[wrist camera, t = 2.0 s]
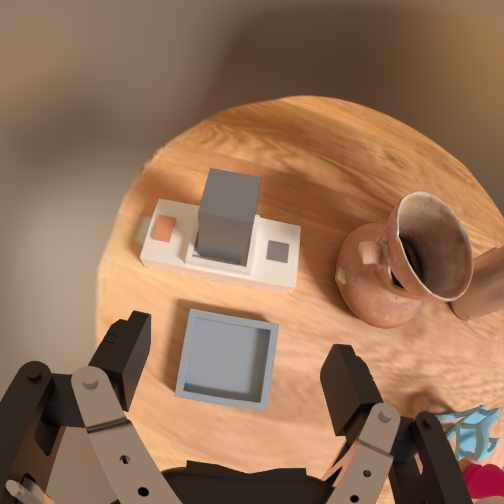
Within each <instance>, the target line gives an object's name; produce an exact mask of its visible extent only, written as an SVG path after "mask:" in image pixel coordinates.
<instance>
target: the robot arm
mask: <svg viewBox="0 0 504 504" xmlns="http://www.w3.org/2000/svg"><path fill="white" fill-rule="evenodd" d="M473 265H474V268H473V274H472V278H471V281H470V284H469V286H468V288H467V290H466V291H465V292H464V294H462V295H461V297H459V298H458V299H456V300H453V301H450V304H451V307H452V309H453V311H454V313H455V314H456V315H457V316H458V317H459V318H460V319H462V320H466V321H467V320H470V319H474V318H477V317H480V316H484V315H487V314H490V313H493V312H496V311H499V310H502V309H504V246H502V247H500V248H497V247H494V248H492V249H491V250H489V251H487V252H485V253H483V254H482V255H480V256H478V257H476V258H474V259H473ZM150 345H151V314H148V313H144V312H139V311H135V310H134V311H133V312H132V314H131V315H130V317H129V319H128V321H126V320H122V319H119V320H118V321H116V322H115V323H114V324H112V325H111V326H110V328H109V330H108V331H107V334H106V335H105V337H104V338H103V341H102V342H101V343H100V345H99V347H98V349H97V350H96V352H95V354H94V356H93V357H92V359H91V361H90V363H89V365H88V366H86V367H82V368H80V369H78V370H77V371H75V372H74V374H71V375H66V374H54V373H51V371H50V369H49V368H48V366H47V365H45V364H44V363H42V362H39V361H31V362H28V363H26V364H24V365H23V366H22V367H21V368H20V369H19V371H18V373H17V374H16V376H15V377H14V379H13V381H12V383H11V384H10V386H9V388H8V389H7V391H6V393H5V395H4V397H3V398H2V400H1V402H0V504H55V503H54V501H53V500H52V498H51V497H50V496H49V495H48V494H47V493H46V488H47V485H48V481H49V477H50V474H51V470H52V468H53V464H54V461H55V458H56V454H57V452H58V449H59V446H60V443H61V440H62V437H63V434H64V432H65V429H66V426H69V427H81V428H86V429H87V433H88V435H89V438H90V441H91V443H92V445H93V448H94V450H95V452H96V455H97V457H98V459H99V462H100V464H101V466H102V468H103V470H104V472H105V474H106V476H107V478H108V480H109V483H110V484H111V486H112V488H113V490H114V492H115V494H116V496H117V498H118V499H117V500H115V501H114V502H112V503H111V504H376V501H377V499H378V497H379V495H380V492H381V490H382V488H383V485H384V483H385V480H386V478H387V475H388V477H389V480H390V484H391V488H392V492H393V496H394V500H395V504H473V502H472V499H471V497H470V494H469V491H468V488H467V485H466V483H465V480H464V478H463V475H462V472H461V470H460V467H459V465H458V462H457V460H456V458H455V455H454V453H453V450H452V448H451V446H450V443H449V441H448V439H447V437H446V434H445V432H444V430H443V428H442V426H441V424H440V421H439V420H438V418H437V417H436V416H435V415H434V414H432V413H430V412H420V413H419V414H418V415H417V416H416V417H415V418H414V419H413V418H407V417H402V416H400V415H399V413H398V411H397V410H396V409H395V408H394V407H393V406H391V405H389V404H386V403H384V402H383V400H382V397H381V395H380V393H379V391H378V388H377V386H376V384H375V382H374V381H373V377H372V375H371V374H370V371H369V369H368V367H367V365H366V363H365V362H364V361H363V360H362V359H361V358H360V357H359V356H356V355H355V352H354V350H353V348H352V346H351V345H343V344H334V345H333V346H332V348H331V350H330V352H329V354H328V356H327V358H326V360H325V362H324V364H323V366H322V368H321V372H320V380H321V384H322V388H323V391H324V395H325V399H326V402H327V406H328V410H329V413H330V417H331V421H332V425H333V428H334V432H335V436H345V437H346V440H345V442H344V443H343V445H342V446H341V448H340V450H339V452H338V453H337V455H336V457H335V458H334V460H333V462H332V463H331V465H330V467H329V468H328V470H327V471H326V473H325V474H324V475H323V477H322V478H321V479H318V478H315V477H312V476H309V475H307V474H306V468H278V469H273V470H268V471H262V472H257V473H250V474H248V473H243V472H240V471H236V470H233V469H230V468H227V467H223V466H220V465H217V464H209V463H202V462H195V461H189V460H187V465H186V467H177V468H171V469H167V470H164V471H161V472H160V471H159V469H158V468H157V466H156V464H155V463H154V461H153V459H152V458H151V456H150V454H149V453H148V451H147V449H146V448H145V446H144V444H143V442H142V441H141V439H140V437H139V435H138V433H137V431H136V430H135V428H134V426H133V424H132V422H131V421H130V420H128V419H127V418H126V416H125V414H124V412H123V411H126V412H128V411H129V408H130V405H131V402H132V399H133V396H134V393H135V390H136V387H137V385H138V382H139V379H140V376H141V373H142V371H143V368H144V365H145V363H146V360H147V357H148V354H149V351H150ZM417 453H418V454H419V457H420V460H421V462H422V465H423V472H422V474H421V475H420V472H419V469H418V466H417V463H416V460H415V457H414V456H415V455H416V454H417Z"/></svg>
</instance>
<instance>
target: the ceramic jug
mask: <svg viewBox="0 0 504 504" xmlns="http://www.w3.org/2000/svg"><path fill="white" fill-rule="evenodd" d="M472 253H473V252H472V247H471V243H470V240H469V237H468V235H467V233H466V231H465V229H464V227H463V225H462V223H461V221H460V219H459V218H458V216H457V215H456V214H455V213H454V212H453V210H452V209H451V208H450V207H449V206H448V205H447V204H445V203H444V202H443V201H441V200H440V199H439V198H438V197H436V196H434V195H432V194H430V193H427V192H420V191H416V192H412V193H409V194H407V195H406V196H405V197H403V198H402V199H401V200H400V201H399V203H398V204H397V205H396V206H395V208H394V209H393V211H392V212H391V214H390V216H389V218H388V220H387V222H386V224H384V223H368V224H364V225H361V226H359V227H357V228H356V229H354V230H353V231H351V232H350V233H349V234H348V235H347V237H346V238H345V239H344V241H343V243H342V245H341V247H340V249H339V253H338V256H337V263H336V273H335V281H336V283H337V286H338V288H339V291H340V293H341V295H342V298H343V299H344V301H345V303H346V304H347V306H348V307H349V309H350V310H351V311H352V312H353V313H354V314H355V315H356V316H357V317H358V318H359V319H361V320H362V321H364V322H365V323H367V324H369V325H371V326H374V327H378V328H385V329H389V328H396V327H399V326H402V325H404V324H405V323H407V322H408V321H410V320H411V319H412V318H413V317H414V316H415V315H416V313H417V312H418V311H419V309H420V307H421V305H422V303H423V301H425V302H448V301H453V300H456V299H458V298H459V297H461V295H462V294H464V292H465V291H466V290H467V288H468V286H469V284H470V281H471V278H472V274H473V268H474V265H473V257H472Z"/></svg>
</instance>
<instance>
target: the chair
mask: <svg viewBox="0 0 504 504" xmlns="http://www.w3.org/2000/svg"><path fill="white" fill-rule="evenodd" d="M500 410H501V407H500V408H495V409H492V410H485V405H480V406H479V407H476V408H473V409H470V410H466V411H462V412H454V413H449V414H441V415H435V416H436V417H437V418H438V420H449V419H456V418H460V417H464V416H465V417H464V418H462V419H461V420H459V421H458V422H456V425H455V426H454V427H453V428H452V429H451V430H450V431H449V432H448V433H447V434H446V437H447V439H448V441H449V439H450V438H451V437H452V436H453V435H454V434H455V433H456V450H455V458H456V460H457V461H459V460H461V459H462V458H463V457H465V456H468V457H470V458H471V459H473V460H474V461H476V462H479V461H481V460H484V459H486V458H487V457H489V456H490V455H491V454H492V453H493V452H494V450H495V447H496V444H497V443H498V441H499V439H500V438H490V437H489V433H488V431H489V428H490V426H491V425H492V424H493V423H494V422H495V421H496V420H497V418H498V414H499V412H500ZM488 415H489V416H488ZM484 416H487V417H486V418H484ZM489 442H492V444H491V446H490V448H489V449H488V445H489ZM474 448H476V449H475V453H474V454H473V453H472V452H471V451H472V450H473V449H474Z"/></svg>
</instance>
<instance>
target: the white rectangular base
mask: <svg viewBox="0 0 504 504" xmlns="http://www.w3.org/2000/svg"><path fill="white" fill-rule="evenodd" d="M199 207H200V204H199V206H198V205H193V204H187V203H182V202H176V201H170V200H165V199H158V202H157V205H156V208H155V211H154V214H153V217H152V220H151V223H150V226H149V229H148V232H147V235H146V239H145V242H144V245H143V249H142V252H141V255H140V259H141V261H142V263H143V264H144V266H145V267H149V268H154V269H158V270H163V271H168V272H173V273H177V274H182V275H187V276H192V277H197V278H202V279H207V280H212V281H218V282H223V283H228V284H233V285H239V286H244V287H250V288H255V289H261V290H266V291H272V292H278V293H284V294H289V293H291V292H292V291H293V290H294V289H295V288H296V279H297V268H298V257H299V245H300V233H301V226H297V225H293V224H288V223H283V222H279V221H274V220H269V219H264V218H260V215H255V219H254V224H253V227H252V230H251V233H250V236H249V238H248V241H247V244H246V247H245V250H244V253H243V256H242V259H241V261H240V263H235V262H229V261H224V260H219V259H214V258H209V257H204V256H200V254H199V228H198V210H199Z"/></svg>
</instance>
